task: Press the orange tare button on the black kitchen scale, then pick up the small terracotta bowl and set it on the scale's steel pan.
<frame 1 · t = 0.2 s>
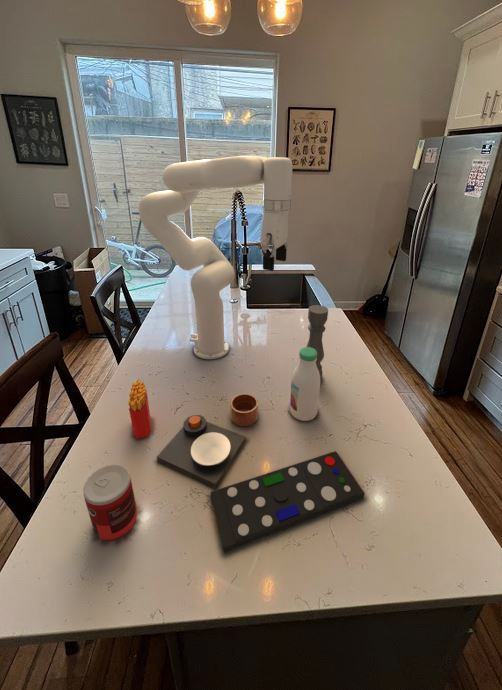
hand: (274, 265, 97), 37 cm above the kitchen island, tool pointing down, fingers open, 9 cm apart
remote control: (287, 497, 69), on the kitchen island
canned food: (116, 521, 64), on the kitchen island
bowl: (244, 417, 90), on the kitchen island
scale: (203, 450, 80), on the kitchen island
pepper mill: (311, 379, 106), on the kitchen island
milk bottle: (303, 412, 92), on the kitchen island
scale pan: (210, 449, 77), resting on scale
tare button: (194, 421, 84), point 3 cm above the kitchen island, slide at 0.1 cm
french fries: (142, 429, 86), on the kitchen island
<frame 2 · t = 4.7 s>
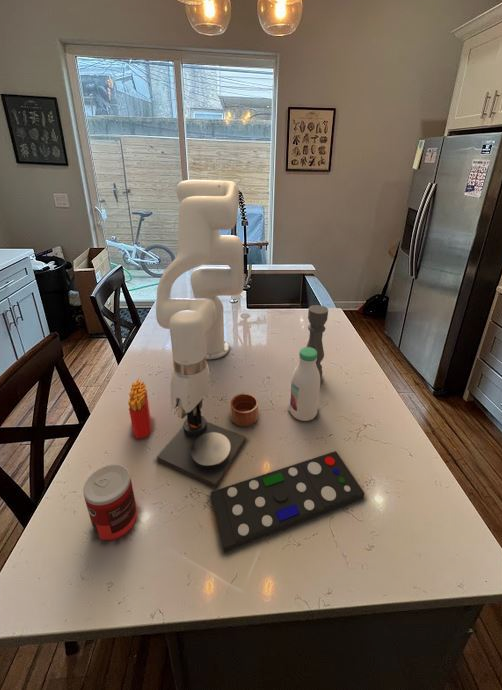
hand: (194, 422, 83), 3 cm above the kitchen island, tool pointing down, fingers closed
tare button: (195, 424, 84), point 3 cm above the kitchen island, slide at -0.7 cm, touching gripper
everything else where it was.
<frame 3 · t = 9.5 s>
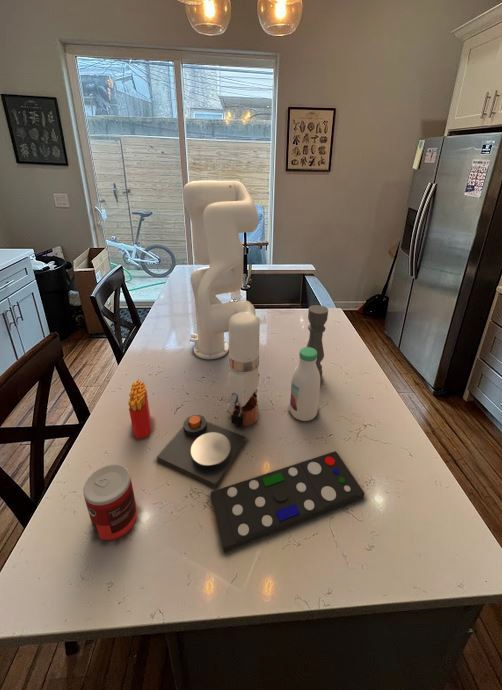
hand: (244, 414, 90), 1 cm above the kitchen island, tool pointing down, fingers closed on bowl, 7 cm apart
bowl: (244, 417, 90), on the kitchen island, touching gripper
tare button: (194, 421, 84), point 3 cm above the kitchen island, slide at 0.1 cm
everything else where it was.
when the fingers open (5 cm above the kitchen island, at t = 15.7 s): bowl stays where it is, resting on scale pan.
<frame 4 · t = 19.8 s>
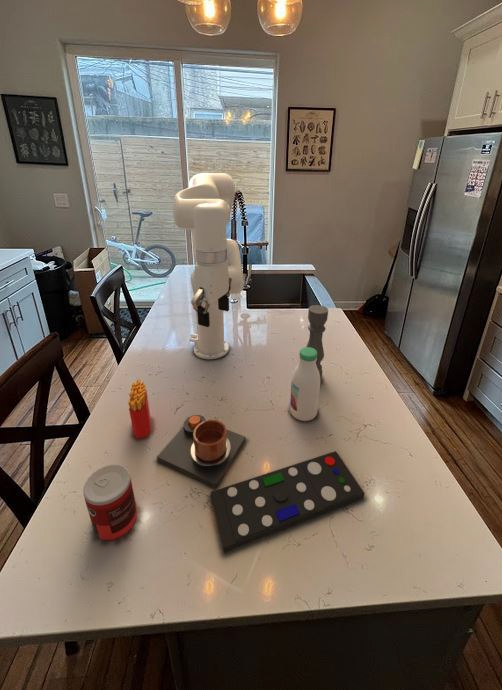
hand: (214, 317, 87), 26 cm above the kitchen island, tool pointing down, fingers open, 9 cm apart
bowl: (210, 448, 76), point 3 cm above the kitchen island, touching scale pan
everything else where it was.
at the end: tare button pushed in 0.9 cm at the most during the clip, back to where it started at the end; bowl 0.0 cm off-centre on the scale pan, point 0.4 cm above the scale pan's base; bowl tilted 0° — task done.
